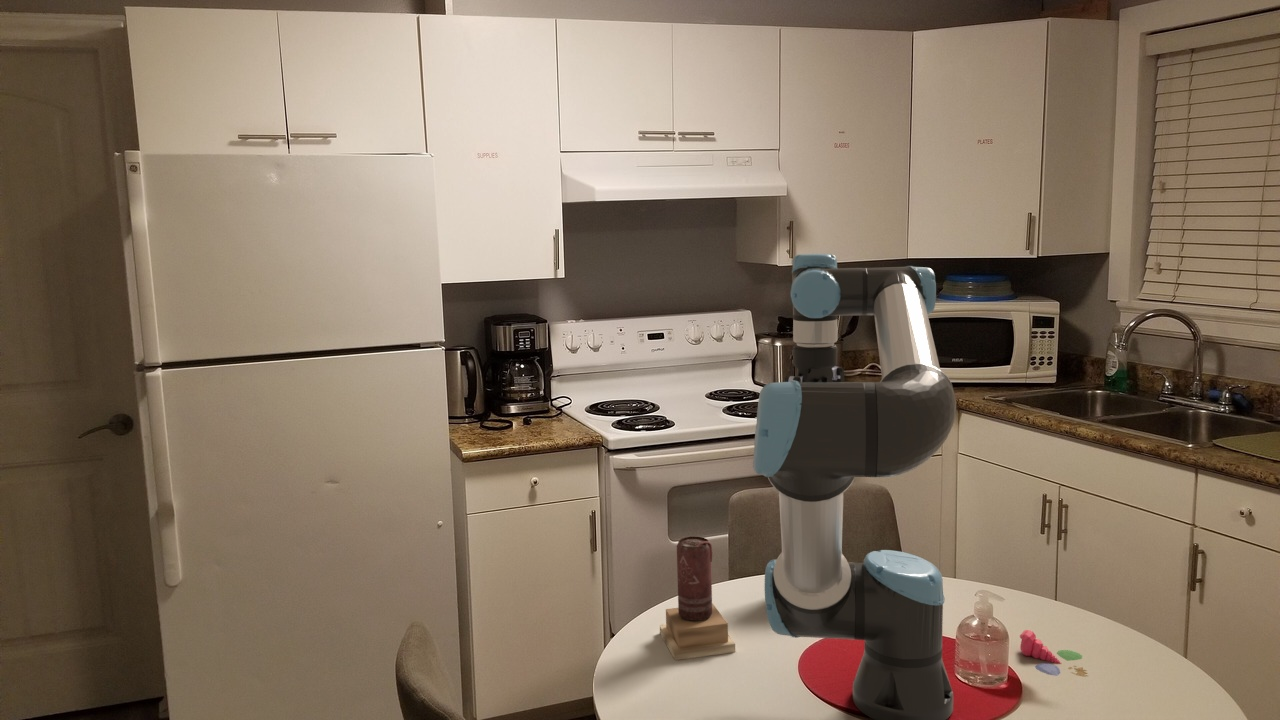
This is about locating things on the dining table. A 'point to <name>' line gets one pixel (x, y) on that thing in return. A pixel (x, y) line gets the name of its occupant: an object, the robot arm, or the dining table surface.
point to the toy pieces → (1047, 655)
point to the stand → (696, 635)
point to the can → (694, 578)
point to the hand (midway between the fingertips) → (815, 463)
